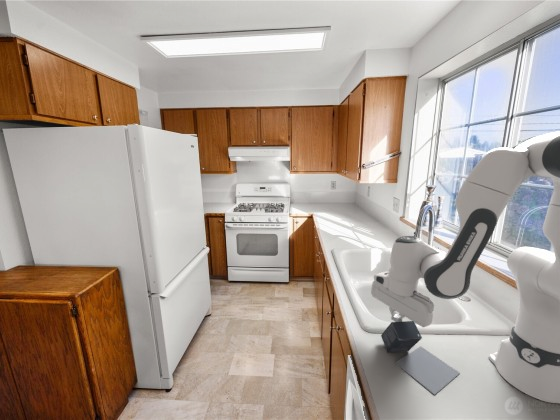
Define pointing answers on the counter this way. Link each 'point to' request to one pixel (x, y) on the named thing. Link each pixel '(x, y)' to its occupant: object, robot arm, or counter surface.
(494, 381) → the counter surface
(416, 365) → the mat
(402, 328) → the box
